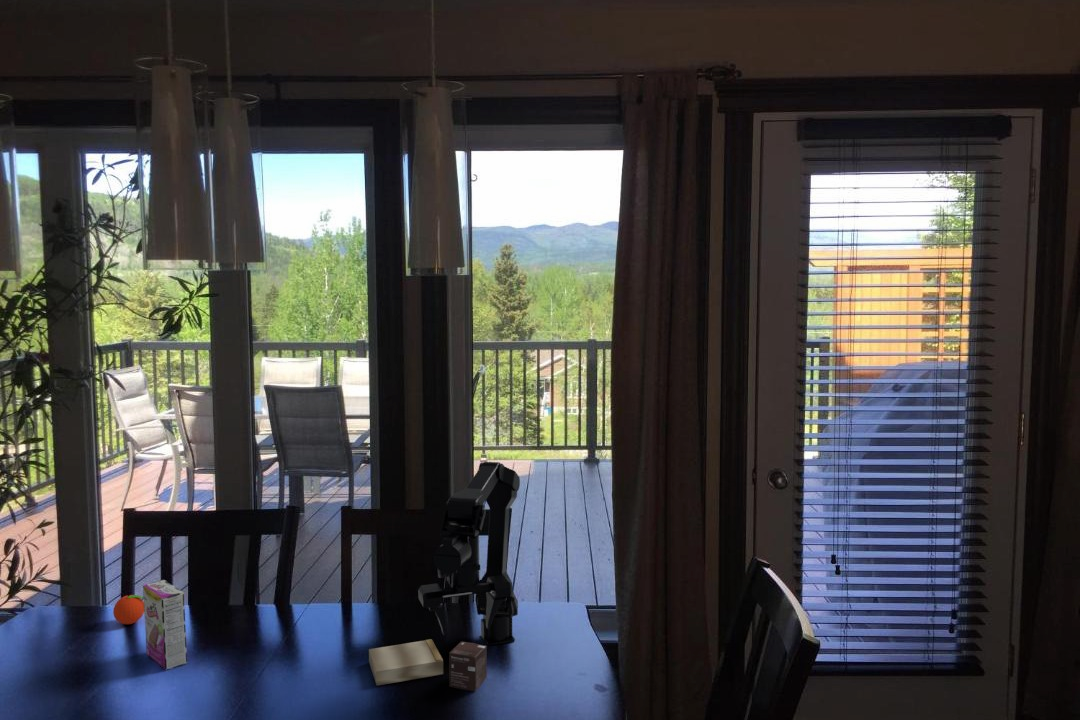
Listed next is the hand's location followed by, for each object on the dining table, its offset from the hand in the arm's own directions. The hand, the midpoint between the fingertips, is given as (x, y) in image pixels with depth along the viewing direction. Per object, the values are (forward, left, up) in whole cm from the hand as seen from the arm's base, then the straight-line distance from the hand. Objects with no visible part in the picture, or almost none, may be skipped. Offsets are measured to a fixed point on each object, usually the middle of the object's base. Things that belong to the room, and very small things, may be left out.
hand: (466, 631), depth 161 cm
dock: (+11, -11, -11) cm, 19 cm away
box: (0, 0, -11) cm, 11 cm away
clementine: (+70, -59, -11) cm, 92 cm away
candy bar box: (+60, -34, -11) cm, 70 cm away
